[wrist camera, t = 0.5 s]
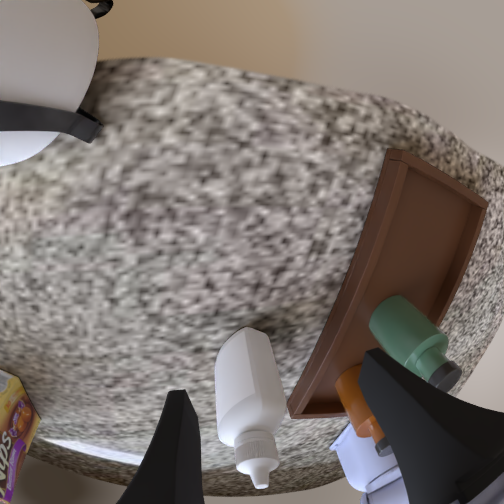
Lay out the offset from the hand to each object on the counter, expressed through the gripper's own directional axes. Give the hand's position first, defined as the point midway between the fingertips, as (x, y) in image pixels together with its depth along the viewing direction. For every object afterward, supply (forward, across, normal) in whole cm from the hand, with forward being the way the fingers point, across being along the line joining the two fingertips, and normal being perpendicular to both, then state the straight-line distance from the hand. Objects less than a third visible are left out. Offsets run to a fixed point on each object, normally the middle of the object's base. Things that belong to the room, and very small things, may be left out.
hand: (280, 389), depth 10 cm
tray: (+10, -12, +6) cm, 17 cm away
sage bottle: (+9, -12, +6) cm, 16 cm away
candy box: (+11, +30, +14) cm, 35 cm away
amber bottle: (+8, -9, +14) cm, 19 cm away
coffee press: (+12, +13, -17) cm, 25 cm away
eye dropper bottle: (+10, +1, +8) cm, 13 cm away
